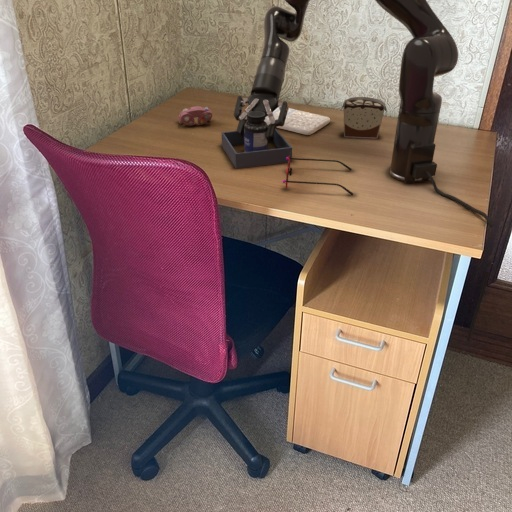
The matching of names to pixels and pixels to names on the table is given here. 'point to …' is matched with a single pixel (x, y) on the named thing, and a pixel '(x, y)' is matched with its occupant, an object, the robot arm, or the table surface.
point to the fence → (255, 156)
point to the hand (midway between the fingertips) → (253, 137)
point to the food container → (363, 117)
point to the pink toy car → (195, 115)
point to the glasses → (312, 182)
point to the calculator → (300, 121)
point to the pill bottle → (255, 132)
